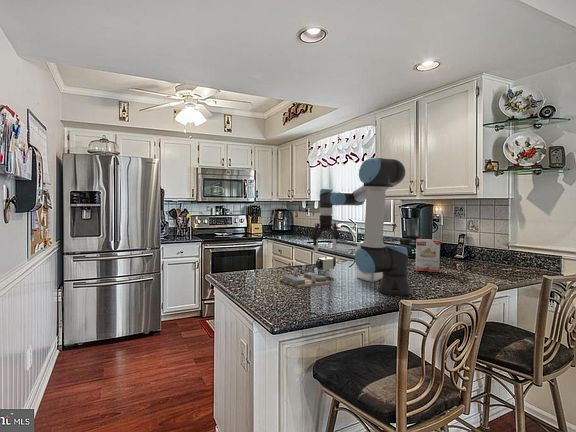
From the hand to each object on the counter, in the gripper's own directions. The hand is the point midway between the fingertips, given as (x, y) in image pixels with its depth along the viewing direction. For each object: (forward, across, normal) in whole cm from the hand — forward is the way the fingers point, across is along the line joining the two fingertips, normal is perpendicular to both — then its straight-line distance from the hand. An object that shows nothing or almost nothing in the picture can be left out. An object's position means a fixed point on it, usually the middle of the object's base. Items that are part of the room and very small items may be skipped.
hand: (325, 250), depth 205 cm
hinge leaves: (+14, +19, +6) cm, 25 cm away
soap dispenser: (+16, -18, +17) cm, 29 cm away
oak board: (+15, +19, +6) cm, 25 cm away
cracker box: (+16, -67, +20) cm, 72 cm away
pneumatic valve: (+16, 0, 0) cm, 16 cm away
